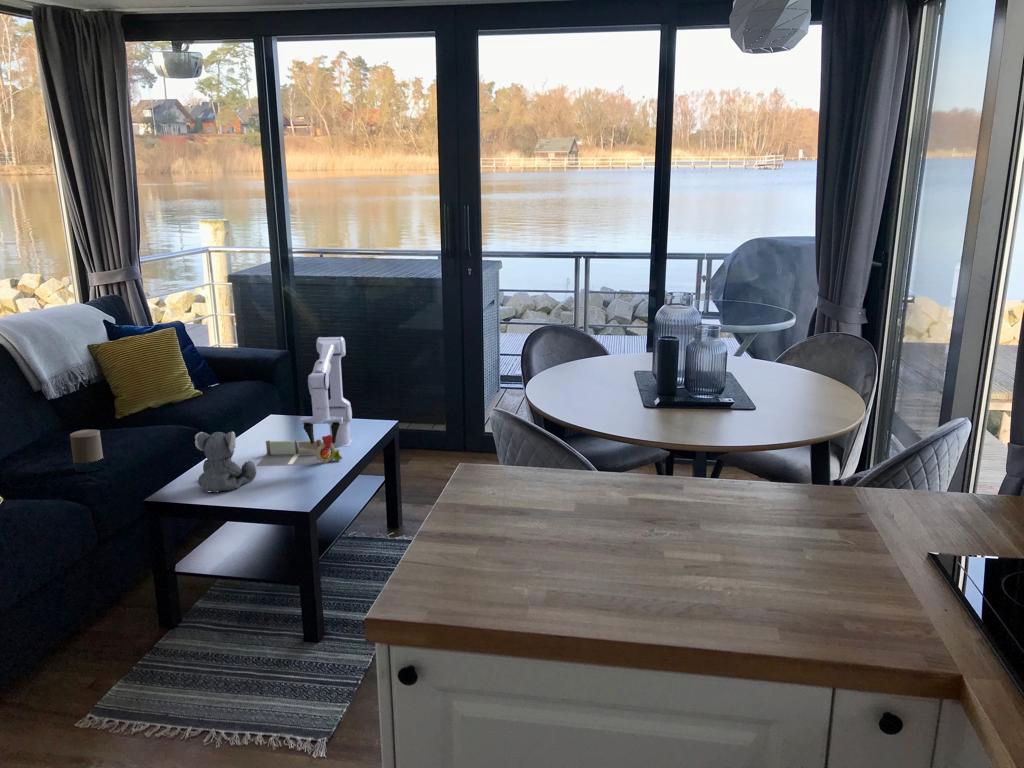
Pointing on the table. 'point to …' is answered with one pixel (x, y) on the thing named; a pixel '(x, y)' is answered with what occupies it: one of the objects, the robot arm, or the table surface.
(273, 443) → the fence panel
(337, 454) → the bird rattle
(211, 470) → the koala plush
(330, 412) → the robot arm
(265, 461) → the board
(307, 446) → the fence fixed section
